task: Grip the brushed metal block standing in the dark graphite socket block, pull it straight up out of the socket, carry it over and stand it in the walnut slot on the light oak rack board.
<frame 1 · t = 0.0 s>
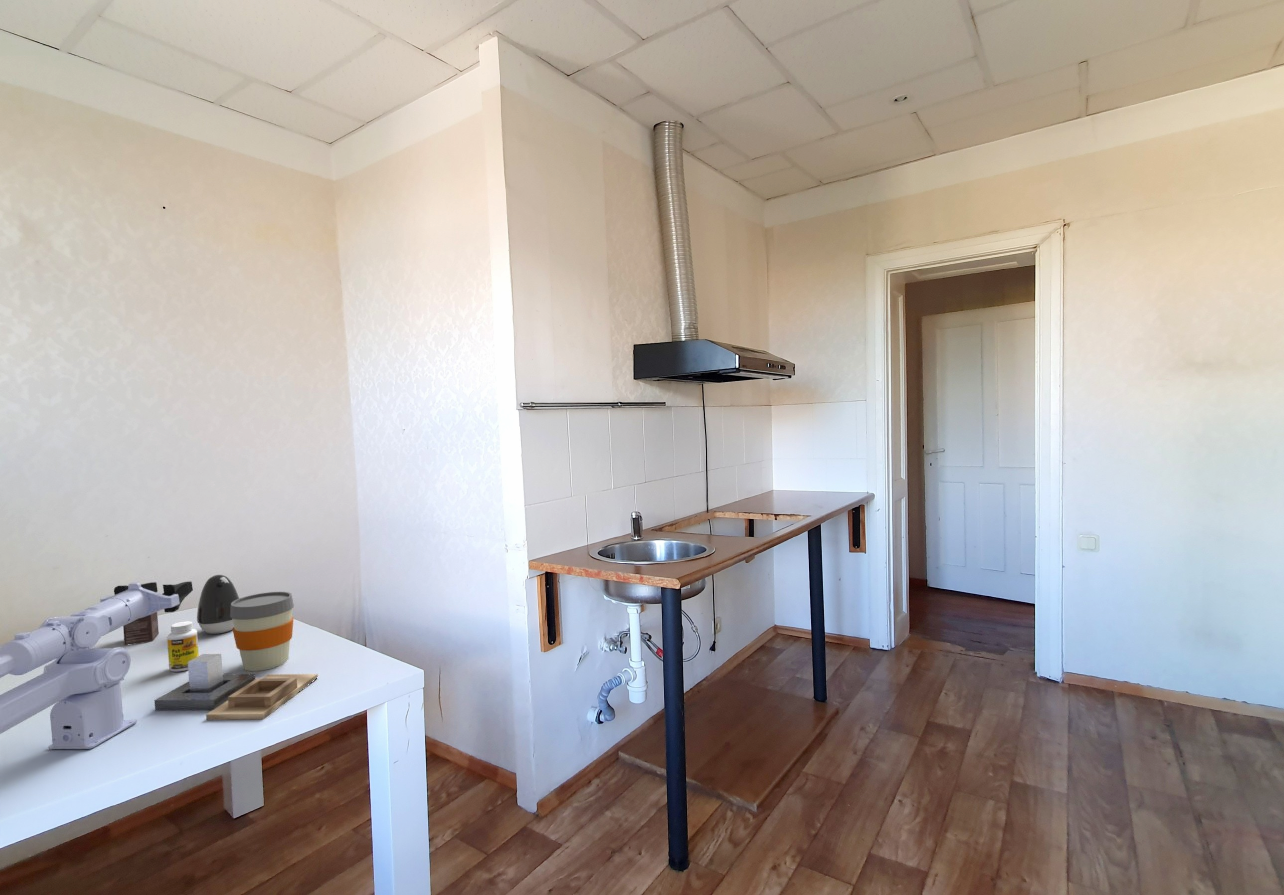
hand: (173, 586, 131), 22 cm above the table, tool horizontal, fingers open, 7 cm apart
supplement bottle: (184, 668, 144), on the table
rack board: (266, 697, 126), on the table
reusable coffee cup: (266, 663, 145), on the table
brushed metal block: (206, 677, 128), in the socket
box: (142, 640, 164), on the table
dark grey tall dome: (221, 631, 169), on the table
socket: (207, 696, 128), on the table
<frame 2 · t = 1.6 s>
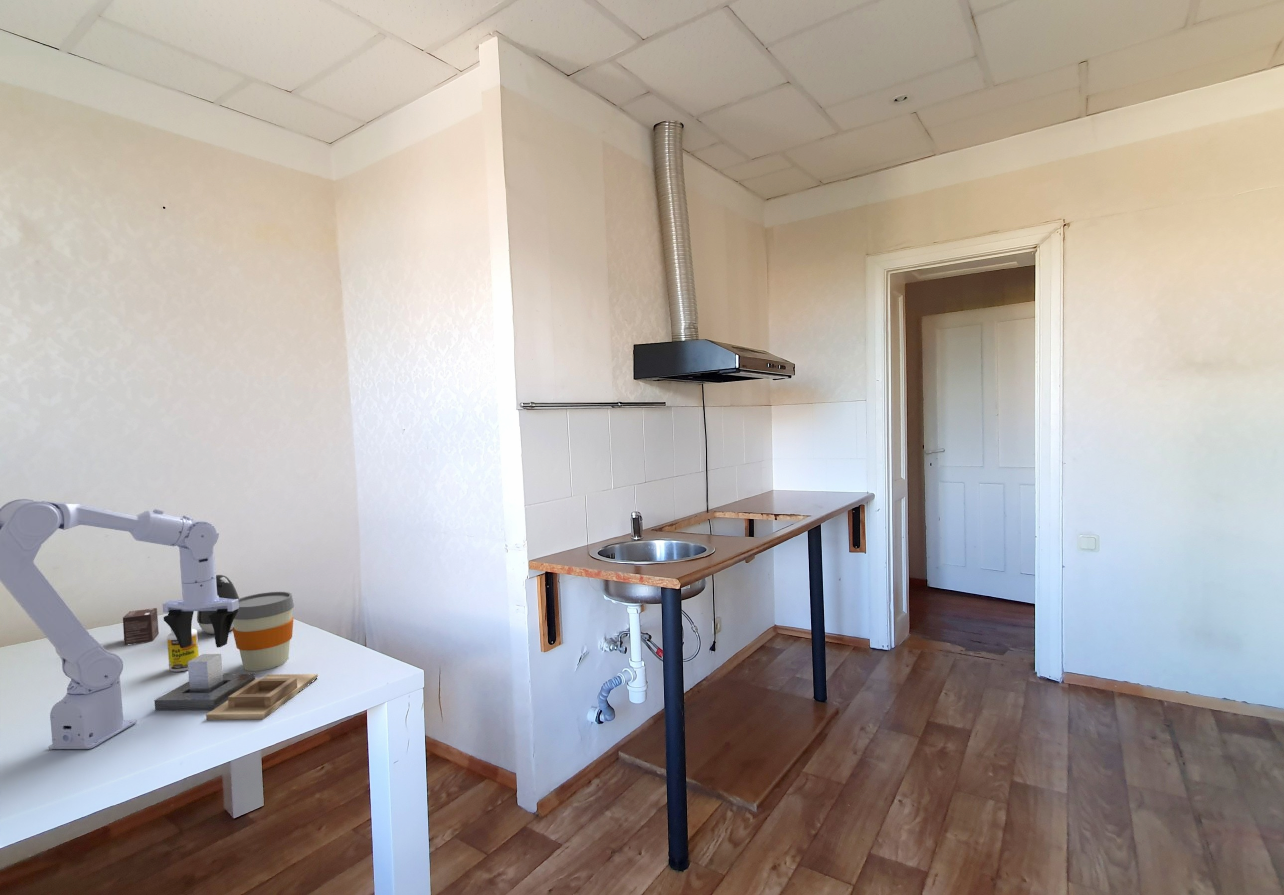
hand: (203, 645, 128), 10 cm above the table, tool pointing down, fingers open, 7 cm apart
nothing on the table moved.
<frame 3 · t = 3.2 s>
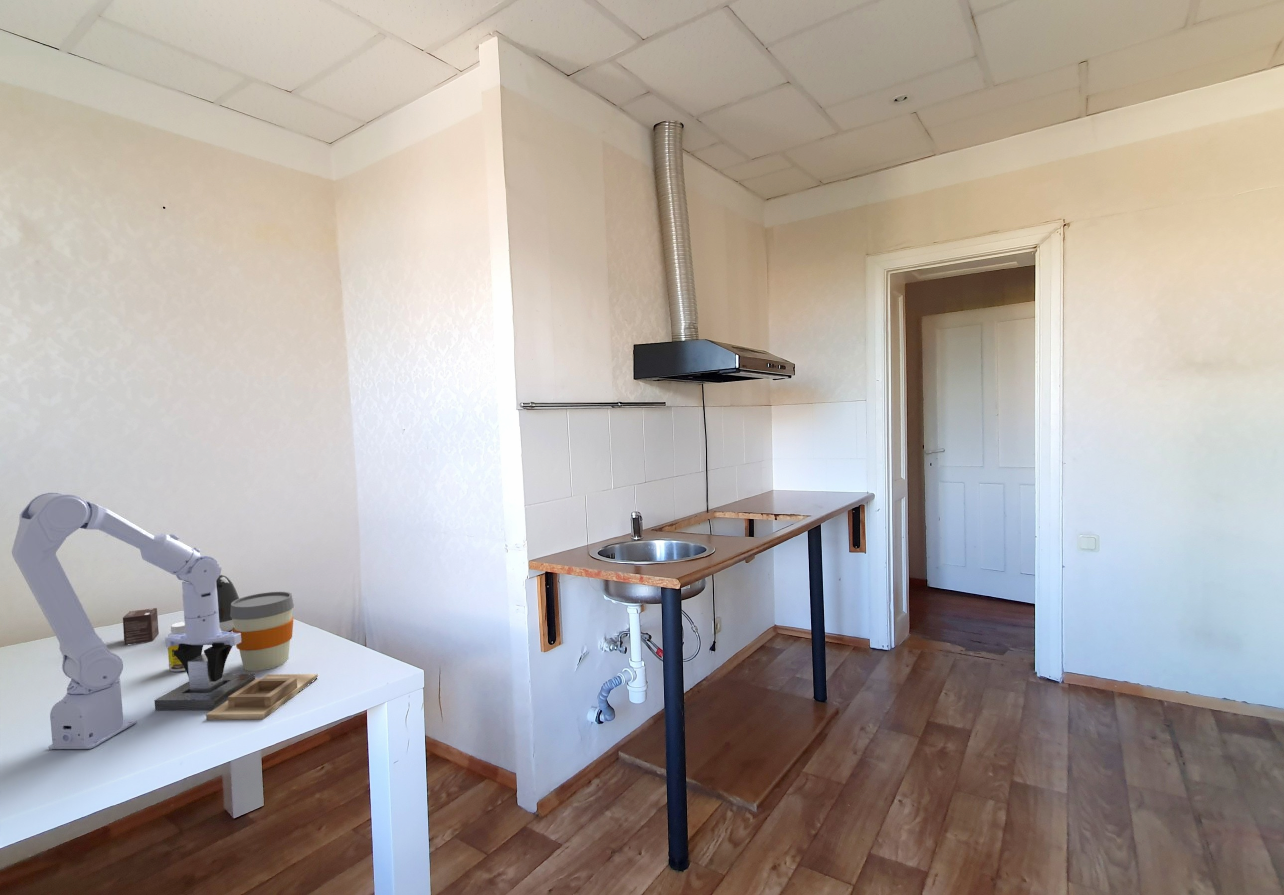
hand: (206, 679, 128), 3 cm above the table, tool pointing down, fingers closed on brushed metal block, 4 cm apart
brushed metal block: (206, 676, 128), in the socket, touching gripper
everything else where it was.
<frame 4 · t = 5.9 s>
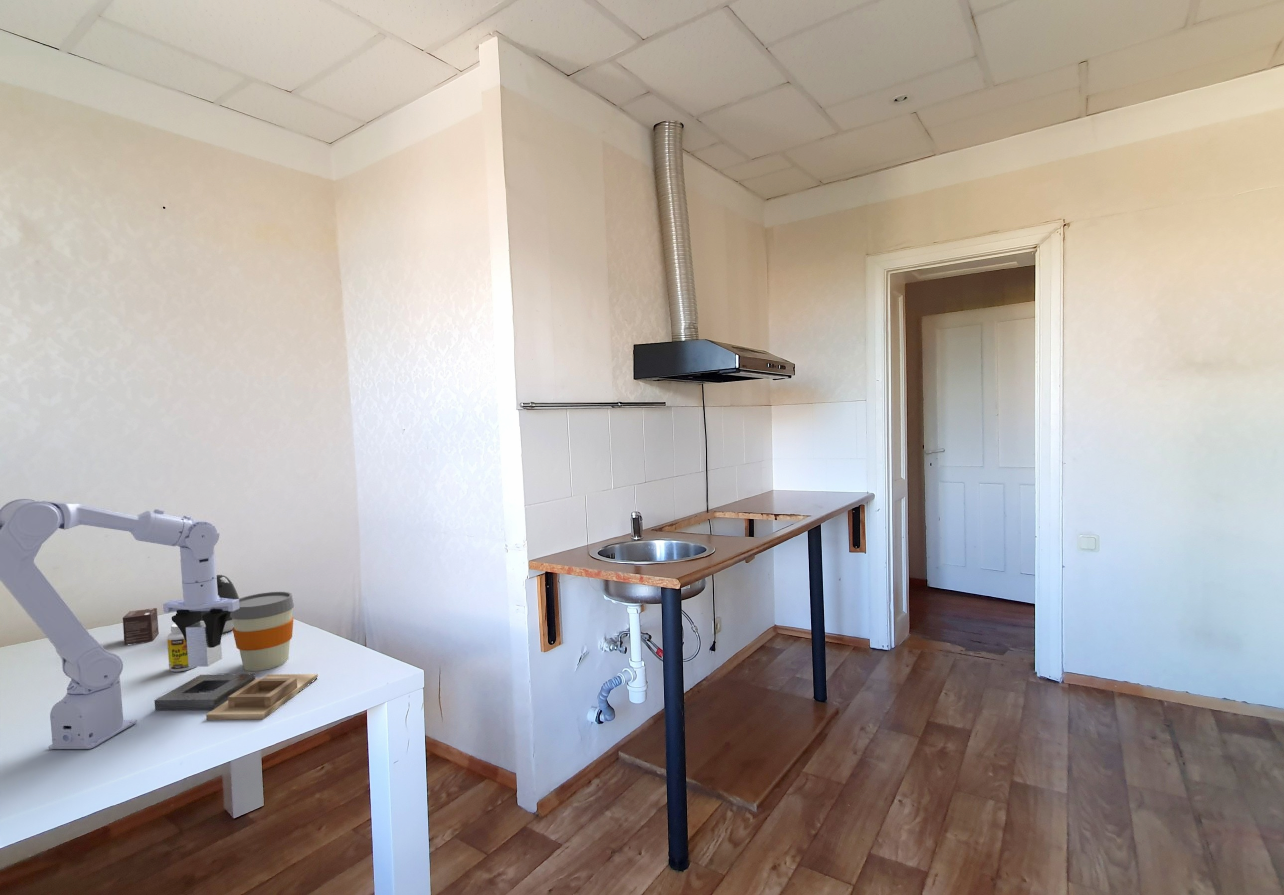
hand: (204, 646, 128), 10 cm above the table, tool pointing down, fingers closed on brushed metal block, 4 cm apart
brushed metal block: (204, 643, 127), point 11 cm above the table, touching gripper
everything else where it was.
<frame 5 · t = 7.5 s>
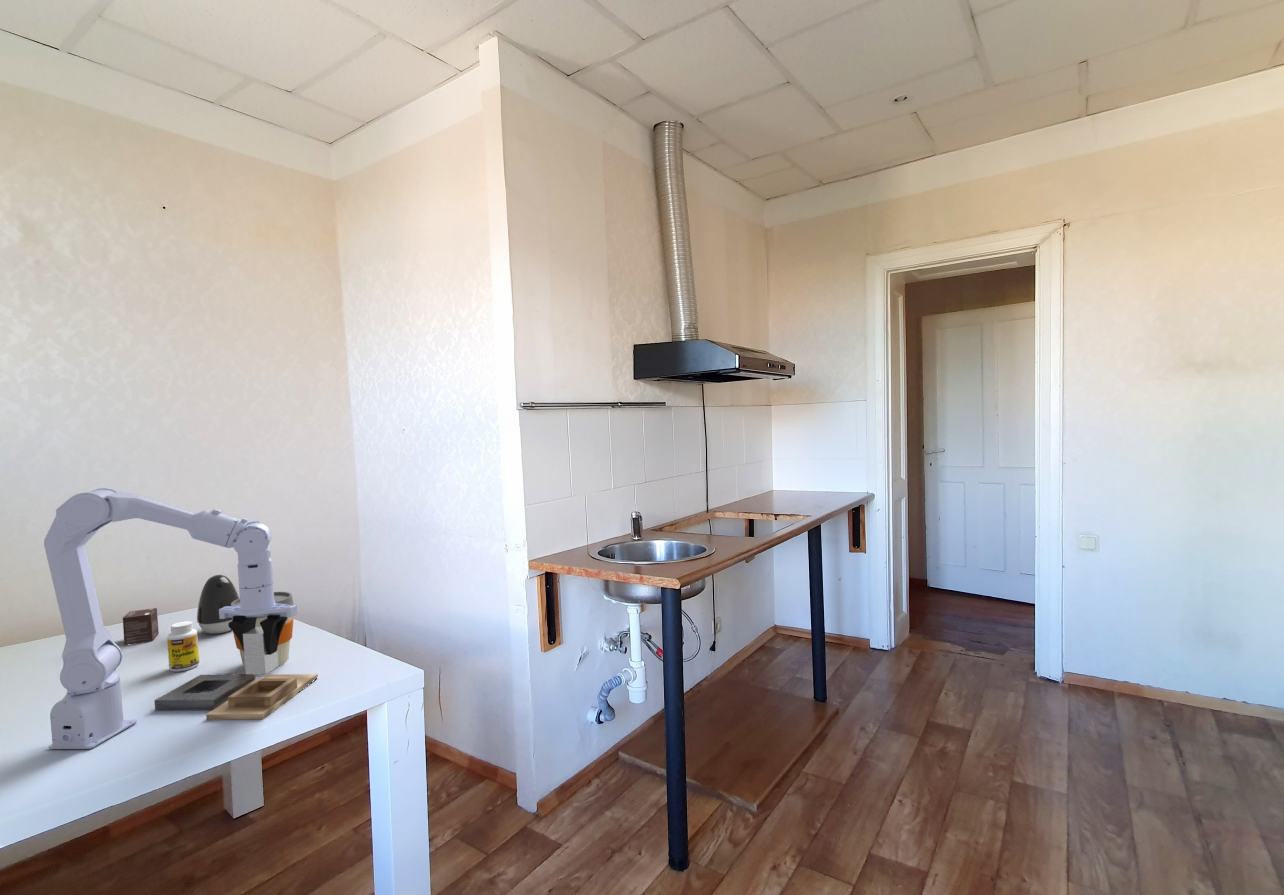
hand: (261, 653, 124), 10 cm above the table, tool pointing down, fingers closed on brushed metal block, 4 cm apart
brushed metal block: (261, 650, 124), point 10 cm above the table, touching gripper
everything else where it was.
when the fingers open (5 cm above the table, at t = 8.8 s): brushed metal block stays where it is, resting on rack board.
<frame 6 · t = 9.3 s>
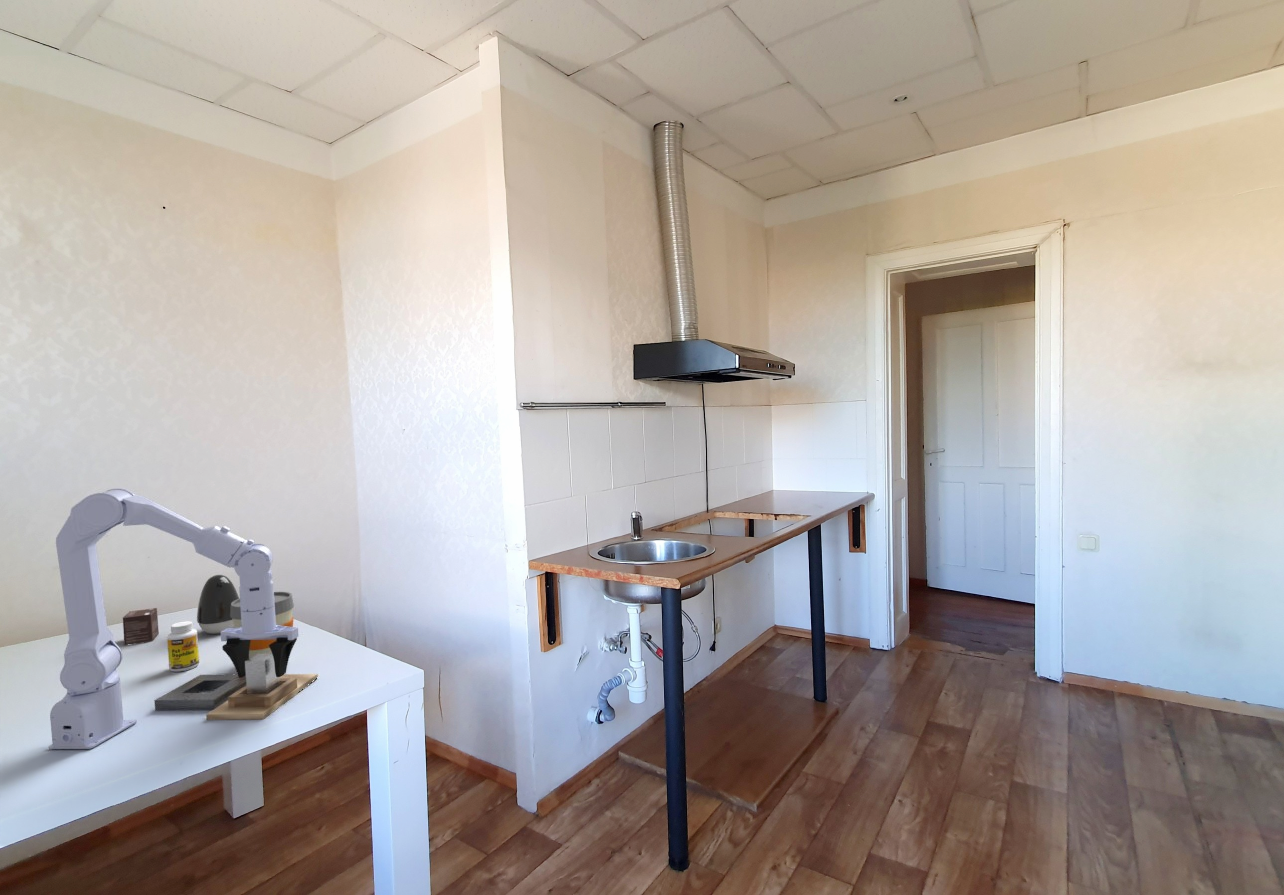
hand: (262, 675, 124), 5 cm above the table, tool pointing down, fingers open, 7 cm apart
brushed metal block: (262, 677, 124), in the rack board, point 5 cm above the table
everything else where it was.
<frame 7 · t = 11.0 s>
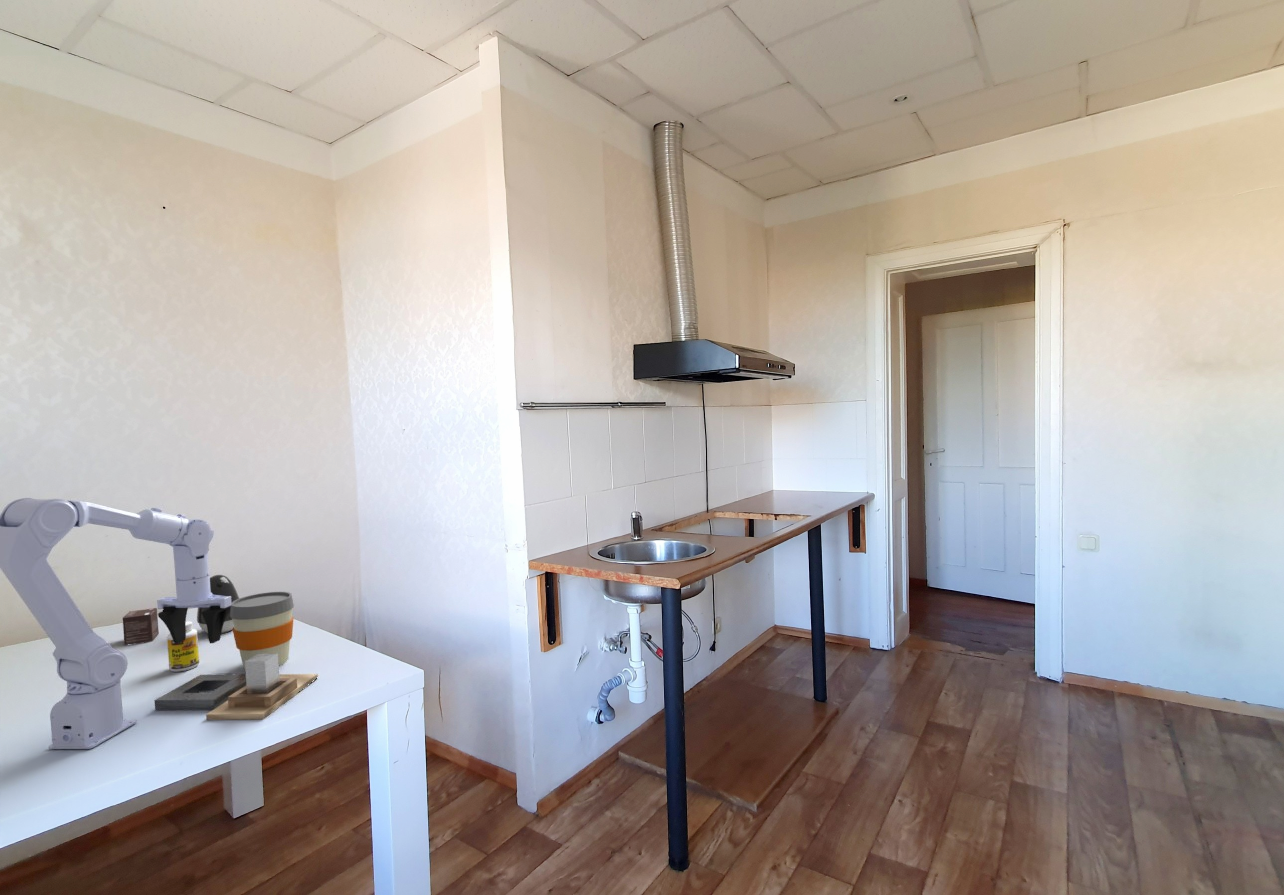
hand: (197, 641, 130), 10 cm above the table, tool pointing down, fingers open, 7 cm apart
nothing on the table moved.
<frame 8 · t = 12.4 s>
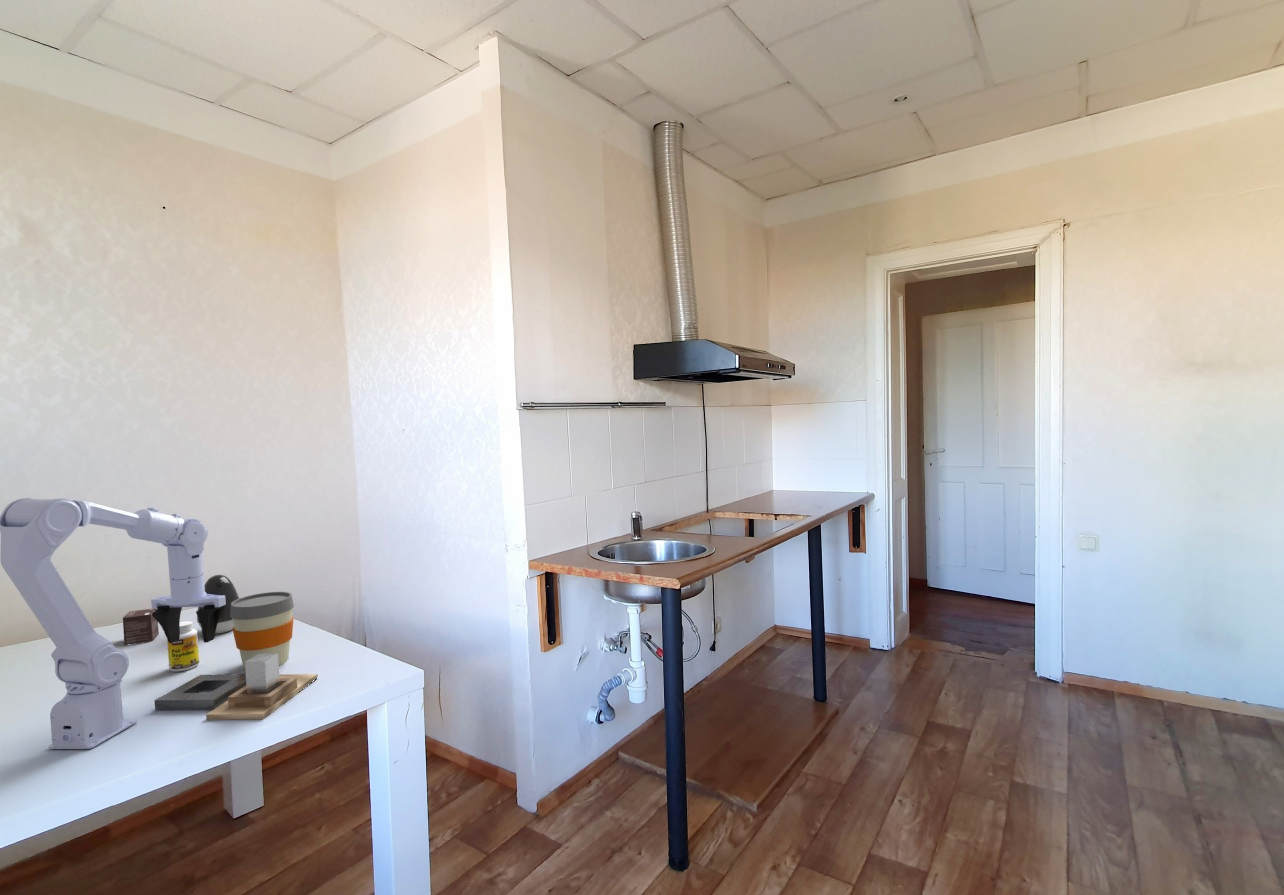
hand: (191, 641, 131), 10 cm above the table, tool pointing down, fingers open, 7 cm apart
nothing on the table moved.
at the end: brushed metal block 0.1 cm from the target spot, point 5.0 cm above the table; brushed metal block tilted 0°; the gripper is holding nothing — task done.
